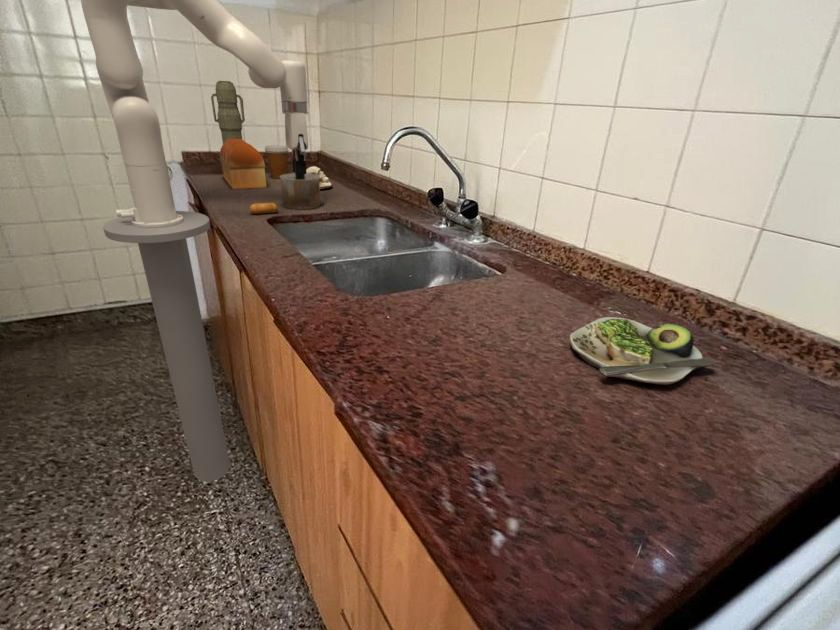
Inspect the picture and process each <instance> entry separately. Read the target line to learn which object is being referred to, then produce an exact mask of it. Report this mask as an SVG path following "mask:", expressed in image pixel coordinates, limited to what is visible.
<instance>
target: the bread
mask: <svg viewBox="0 0 840 630" xmlns="http://www.w3.org/2000/svg"><path fill="white" fill-rule="evenodd" d="M219 159H220V161H221V167H222V174H223V175H222V176H223V179H224V180H225V182H227V183H228V184H229V187H230V188H231V189H232V190H240V189H242V190H243V189H257V188H258V189H259V188H267V180H266V179H267V178H266V164H265V161H264V157H263V156H262V154H261V153H260V151H259V150H258V149H257V148H255V147H254V146H253V145H251V143H248V142H247V141H245V140H243V138H242V139H228V140H227V141H226V142H224V144H223V143H222V146H221V147H220V151H219Z"/></svg>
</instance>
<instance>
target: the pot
mask: <svg viewBox="0 0 840 630" xmlns="http://www.w3.org/2000/svg"><path fill="white" fill-rule="evenodd" d="M280 183H281V191H282V192H281V193H282V203H283V206H284V207H285V208H288V209H291V210H310V209H311V210H312V209H316V208H320V206H321V189H320V186H319V180H315V181H306V182H295V181H285V180H282V179H280Z"/></svg>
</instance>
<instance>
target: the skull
mask: <svg viewBox="0 0 840 630" xmlns="http://www.w3.org/2000/svg"><path fill="white" fill-rule="evenodd" d="M306 172H307V174H315V175H319V176H320V179H319V186H320V190H324V189H328V188H331V187H333V184H332V183H331V182H330V179H329V177H328V176H326V174H325V172H324V171H321V168H320V167H317V166H314V165H313V166H310V167H309V166H308V168H306Z"/></svg>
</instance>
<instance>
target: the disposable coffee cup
mask: <svg viewBox="0 0 840 630" xmlns="http://www.w3.org/2000/svg"><path fill="white" fill-rule="evenodd" d="M289 151H290V149H289V148H288V147H287V146H286V145H274V144H273V145H266V146H264V152H265V155H266V160H267V164H268V169H269V173H270V177H271V178H273V179H280V176H281V175H284V174H288V158H289V157H288V156H289Z"/></svg>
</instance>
